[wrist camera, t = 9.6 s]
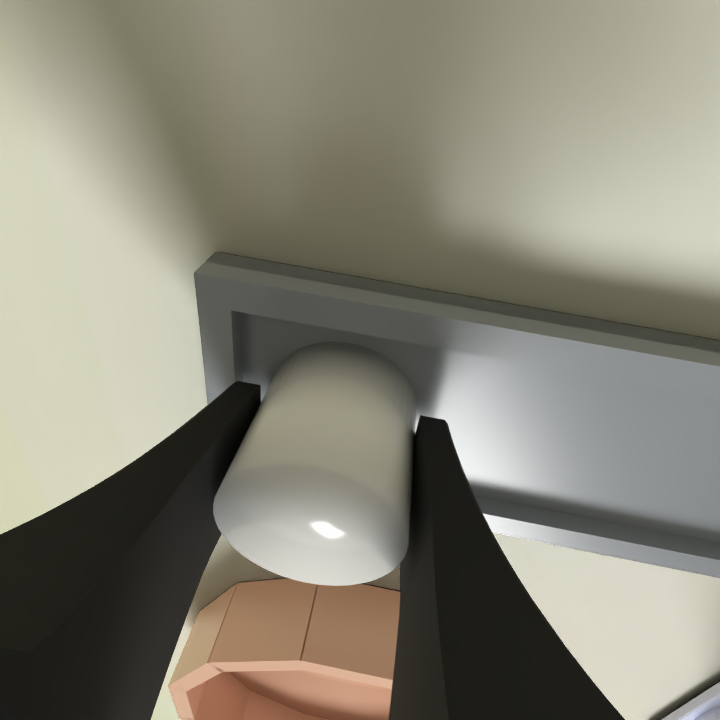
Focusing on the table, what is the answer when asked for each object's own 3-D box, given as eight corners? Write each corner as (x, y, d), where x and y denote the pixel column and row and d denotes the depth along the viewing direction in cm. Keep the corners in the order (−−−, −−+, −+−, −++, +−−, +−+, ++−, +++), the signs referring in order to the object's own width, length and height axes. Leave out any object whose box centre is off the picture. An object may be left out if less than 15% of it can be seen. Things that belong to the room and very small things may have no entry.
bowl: (557, 624, 18) (576, 719, 16) (460, 740, 28) (463, 813, 25) (187, 547, 19) (147, 627, 17) (213, 686, 28) (190, 751, 26)
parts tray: (956, 382, 10) (1010, 418, 9) (757, 552, 14) (780, 590, 13) (215, 252, 11) (194, 272, 10) (229, 449, 15) (215, 477, 14)
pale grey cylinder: (430, 357, 11) (427, 488, 8) (402, 465, 13) (390, 600, 10) (272, 328, 11) (204, 445, 8) (271, 440, 14) (219, 564, 10)
